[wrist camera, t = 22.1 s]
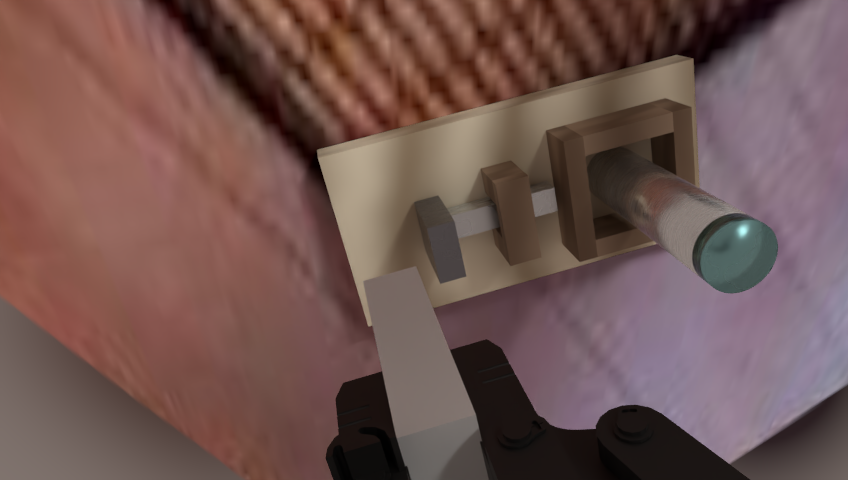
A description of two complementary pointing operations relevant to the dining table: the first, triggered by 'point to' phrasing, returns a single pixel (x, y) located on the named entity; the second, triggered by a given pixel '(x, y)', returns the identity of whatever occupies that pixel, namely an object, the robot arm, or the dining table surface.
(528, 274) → the dock
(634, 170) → the silver cylinder
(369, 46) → the dining table surface
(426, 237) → the lock pin
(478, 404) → the robot arm
